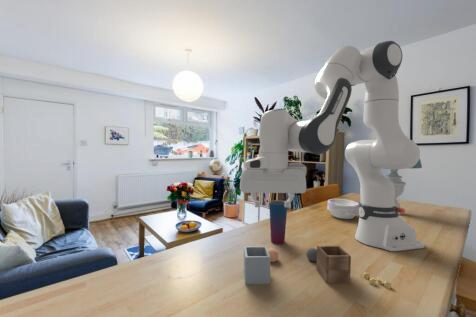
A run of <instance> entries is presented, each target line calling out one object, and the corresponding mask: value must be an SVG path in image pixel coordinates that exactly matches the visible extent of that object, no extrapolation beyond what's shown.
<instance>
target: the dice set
mask: <svg viewBox="0 0 476 317" xmlns="http://www.w3.org/2000/svg"><path fill="white" fill-rule="evenodd" d="M370 276H371V275H370V273H368V272H363V279H365V280H369V285H370V286H376V285H377V284H378V285H383V287H384V288H385V289H388V290H390V289H391V286H392V285H391V282H389V281H387V280H386V281H383V279H382V278H381V277H378V276H376V278H374V277H371V278H370ZM376 283H377V284H376Z"/></svg>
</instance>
